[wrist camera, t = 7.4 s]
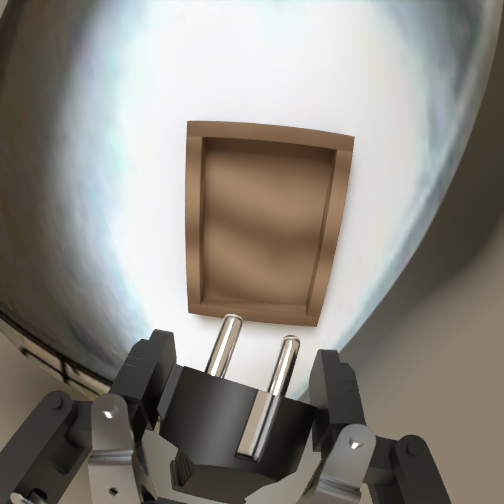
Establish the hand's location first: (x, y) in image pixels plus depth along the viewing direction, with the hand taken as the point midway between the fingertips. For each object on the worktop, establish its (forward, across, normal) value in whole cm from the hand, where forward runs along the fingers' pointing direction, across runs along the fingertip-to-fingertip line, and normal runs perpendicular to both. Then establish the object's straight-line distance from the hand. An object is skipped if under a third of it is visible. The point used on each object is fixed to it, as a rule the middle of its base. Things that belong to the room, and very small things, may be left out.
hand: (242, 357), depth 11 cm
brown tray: (+16, 0, 0) cm, 16 cm away
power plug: (+1, +1, +4) cm, 4 cm away
